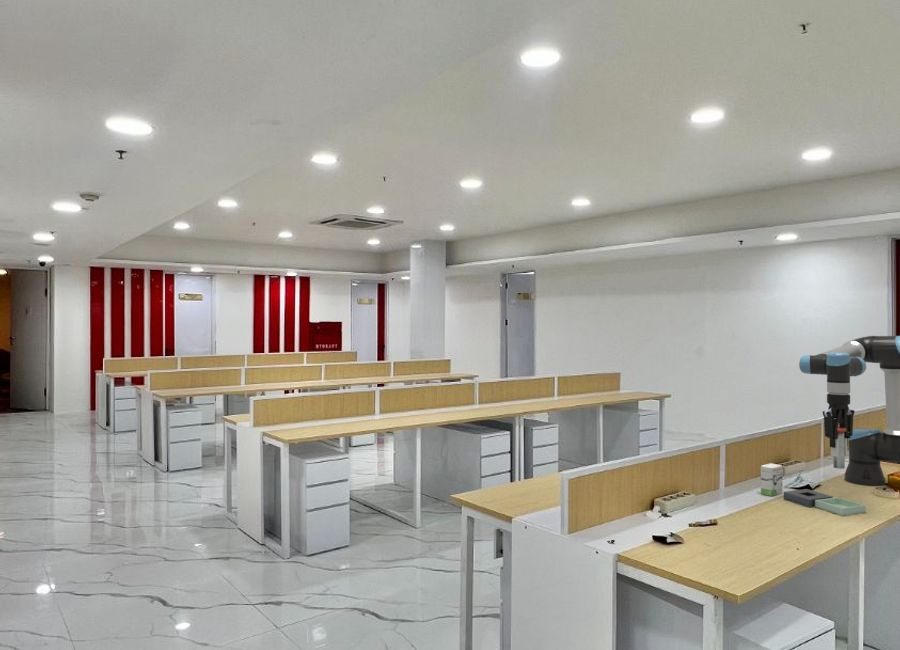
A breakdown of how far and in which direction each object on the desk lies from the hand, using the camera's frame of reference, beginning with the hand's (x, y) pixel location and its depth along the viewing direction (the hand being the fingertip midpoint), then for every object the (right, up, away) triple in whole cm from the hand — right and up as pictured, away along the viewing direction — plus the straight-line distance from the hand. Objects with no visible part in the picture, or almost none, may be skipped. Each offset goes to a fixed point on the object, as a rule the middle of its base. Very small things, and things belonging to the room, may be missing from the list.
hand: (838, 455), depth 238 cm
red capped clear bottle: (0, -5, 0) cm, 5 cm away
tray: (0, -21, 0) cm, 21 cm away
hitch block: (-5, -21, +11) cm, 24 cm away
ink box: (-14, -21, +23) cm, 34 cm away
